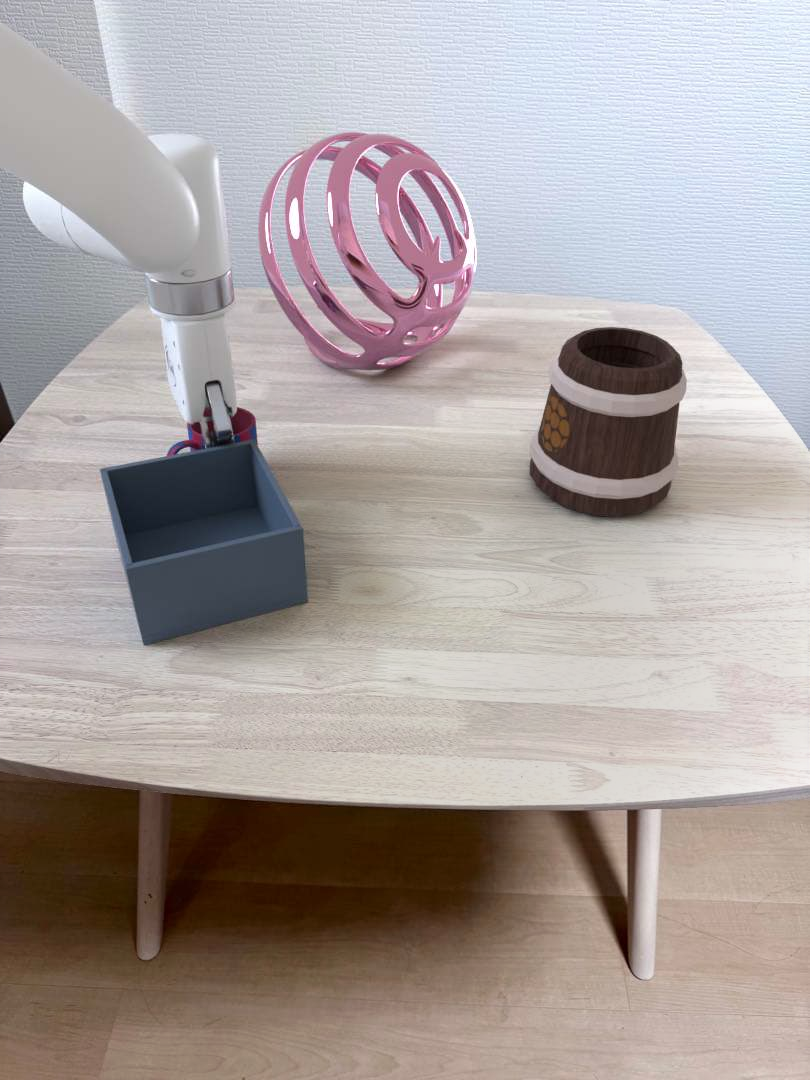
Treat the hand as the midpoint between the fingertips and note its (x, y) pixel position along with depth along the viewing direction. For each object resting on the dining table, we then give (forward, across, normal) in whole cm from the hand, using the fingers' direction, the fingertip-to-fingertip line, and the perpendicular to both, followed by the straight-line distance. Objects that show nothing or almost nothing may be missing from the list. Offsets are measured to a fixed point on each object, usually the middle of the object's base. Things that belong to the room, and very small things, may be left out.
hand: (214, 458), depth 86 cm
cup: (+3, 0, 0) cm, 3 cm away
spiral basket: (+3, -22, +26) cm, 34 cm away
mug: (+3, +12, +38) cm, 40 cm away
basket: (-1, +21, -4) cm, 22 cm away
